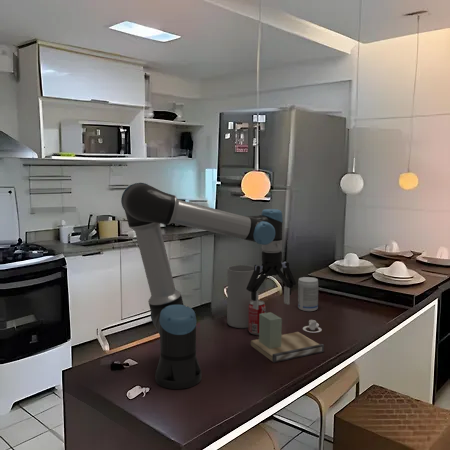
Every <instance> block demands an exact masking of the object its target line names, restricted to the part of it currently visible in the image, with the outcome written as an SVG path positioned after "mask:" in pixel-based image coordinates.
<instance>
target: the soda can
mask: <svg viewBox="0 0 450 450" xmlns="http://www.w3.org/2000/svg"><path fill="white" fill-rule="evenodd" d="M266 308H267V307H266V304H265V301H263V300H259V299H258V310H256V309H254V308H253V301H251V302H250V304H249V328H248V332H249V334H250V335H254V336H259V314H263V313H267V310H266Z"/></svg>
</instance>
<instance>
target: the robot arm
mask: <svg viewBox="0 0 450 450" xmlns="http://www.w3.org/2000/svg"><path fill="white" fill-rule="evenodd" d="M120 202H121V207H122V209H123V210H124V212H125V216H126V220H127V224H128V227H129V229H132V231H133V230H134V233H135V236H136V240H137V244H138V248H139V253H140V256H141V257H140V258H141V260H142V264H143V269H144V272H145V276H146V280H147V285H148V287H149V292H150V298H149V299H148V305H149V310H150V320H151V322H152V324H153V326H154V327H155V329H156V331H157V333H158V335H159V339H160V340H159V342H160V343H159V344H160V345H159V346H160V347H159V348H160V349H159V351H160V352H159V353H160V356H159V360H158V364H157V367H156V370H155V374H154V375H155V377H154V378H155V380H154V381H155V383H156V384H157V385H159V386H160V387H161V388H165V389H169V390H171V389H172V390H183V389H188V388H189V389H190V388H191V387H194V386H196V385H198V384H199V383H200V382H201V381H202V369H201V367H200V366H201V365H200V363H199V360H198V357H197V317H196V312H195V310H194V309H193V308H191V307H190V306H186V305H185V303H184V301H183V297H182V296H183V295H182V293H181V292H180V291H179V290H177V289H176V287H175V282H174V277H173V274H172V273H173V272H172V271H171V265H170V262H169V258H168V253H167V249H166V245H165V240H164V237H163V233H162V228H161V225H165V226H169V225H172V224H176V225H180V226H185V227H189V228H193V229H197V230H202V231H207V232H211V233H216V234H220V235H224V236H228V237H232V238H236V239H237V238H238V239H242V240H245V241H249V242H253V243H256V244H259V245H261V250H262V252H261V265H258V264H254V266H253V267H254V271H253V274H252V276H251V278H250V281H249V283H248V286H247V288H246V289H247V290H248V291H250V292H251V299H252V300H253V308H254V309H256V310H258V300H259V292H258V290H259V289H260V287H261V286H262V285H263V283H264V281H265V280H266V279H267V278H268V277H272V276H278V277H279V279H280V280H281V281H282V282H283V284H284V285H285V286H283V303H284V304H285V305H290V296H292V295H291V294H292V288H294V286H296V285H297V282H296V279H295V278H294V275H293V274H292V271H291V268H290V263H289V262H287V261H285V260H284V261H283V262H282V260H283V252H282V250H283V223H284V220H283V218H284V217H283V211H282V210H280V209H277V208H267V209H262V211H261V214H259V215H241V214H237V213H234V212H233V213H232V212H228V211H224V210H220V209H217V208H213V207H209V206H205V205H200V204H198V203H197V204H196V203H193V202H190V201H186V200H182V199H178V198H177V196H176V195H174V194H170V193H168V192H164V191H162V190H159V189H158V188H156V187H154V186H152V185H150V184H148V183H146V182H145V183H144V182H135V183H131V184H130V185H128V186H127V187H126V188H125V189H124V191H123V193H122V195H121V201H120ZM282 268H283V270H284V273H285V274H284V273H283V272H282ZM285 275H286V276H285Z"/></svg>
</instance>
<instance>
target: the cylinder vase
mask: <svg viewBox="0 0 450 450" xmlns="http://www.w3.org/2000/svg"><path fill="white" fill-rule="evenodd" d="M226 270H227V274H226V277H227V280H226V281H227V283H226V284H227V285H226V287H227V288H226V289H227V293H226V296H227V299H226V302H227V303H226V305H227V306H226V308H227V311H226V314H227V315H226V316H227V317H226V322H227V325H228V326H229V327H232V328H234V329H235V328H236V329H249V304H250V302H251V301H253V300H252V299H251V292H250V291H248V290H247V289H246V288H247V286H248V283H249V281H250V278H251V276H252V274H253V271H254V266H253V265H248V264H247V265H246V264H236V265H230V266H228V267H227V269H226Z"/></svg>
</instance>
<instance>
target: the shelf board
mask: <svg viewBox="0 0 450 450" xmlns="http://www.w3.org/2000/svg"><path fill="white" fill-rule="evenodd" d="M250 346H251V347H252V348H254V349H255V350H256V351H257V352H259V353H260V354H262V355H263V356H264V357H265V358H267V359H269V360H270V361H271V362H273V363H279V362H283V361H288V360H292V359H297V358H301V357H307V356H311V355H315V354H320V353H324V352H325V344H323V343H318V342H316V341H315V340H313V339H311V338H309V337H307V336H306V335H304V334H303V333H301V332H299V331H295V332H289V333H284V334H282V335H281V347H277V348H272V349H269V348H268V347H266V346H265V345H263V344H262V343H261V342H259V338H258V339H257V338H256V339H253V340H250Z"/></svg>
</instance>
